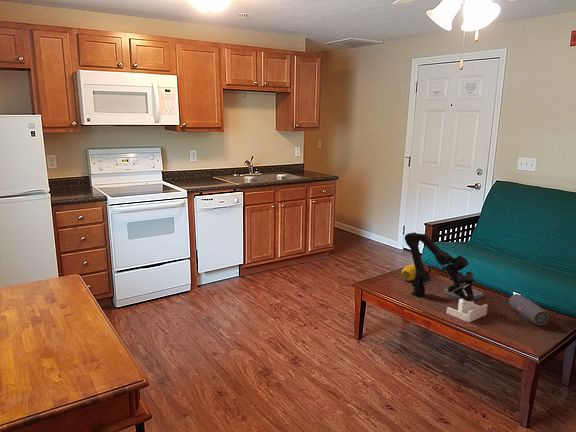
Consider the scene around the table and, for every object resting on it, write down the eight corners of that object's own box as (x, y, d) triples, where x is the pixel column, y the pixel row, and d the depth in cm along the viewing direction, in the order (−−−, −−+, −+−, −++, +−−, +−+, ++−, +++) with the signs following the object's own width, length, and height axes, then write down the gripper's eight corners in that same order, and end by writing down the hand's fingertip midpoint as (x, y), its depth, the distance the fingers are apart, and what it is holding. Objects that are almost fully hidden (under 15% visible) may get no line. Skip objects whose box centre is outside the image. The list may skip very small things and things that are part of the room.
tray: (443, 293, 270) (444, 289, 269) (460, 288, 278) (460, 284, 277) (465, 302, 256) (466, 298, 256) (482, 297, 265) (483, 293, 264)
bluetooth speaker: (506, 309, 248) (508, 293, 246) (521, 308, 249) (524, 292, 247) (531, 328, 226) (534, 310, 224) (548, 327, 227) (551, 309, 225)
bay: (446, 313, 242) (447, 303, 241) (464, 305, 252) (465, 296, 250) (468, 322, 231) (470, 312, 230) (486, 314, 241) (487, 304, 240)
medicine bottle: (470, 311, 245) (472, 291, 242) (474, 316, 238) (476, 296, 235) (457, 310, 245) (459, 290, 243) (461, 316, 238) (463, 295, 236)
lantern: (418, 258, 302) (394, 267, 283) (431, 264, 296) (406, 274, 276) (414, 270, 306) (390, 280, 287) (426, 277, 300) (402, 288, 280)
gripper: (454, 270, 234) (471, 296, 227) (473, 264, 244) (490, 288, 238) (440, 280, 242) (456, 305, 235) (459, 273, 252) (475, 297, 246)
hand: (469, 298), depth 238 cm, fingers closed on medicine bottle, 6 cm apart
